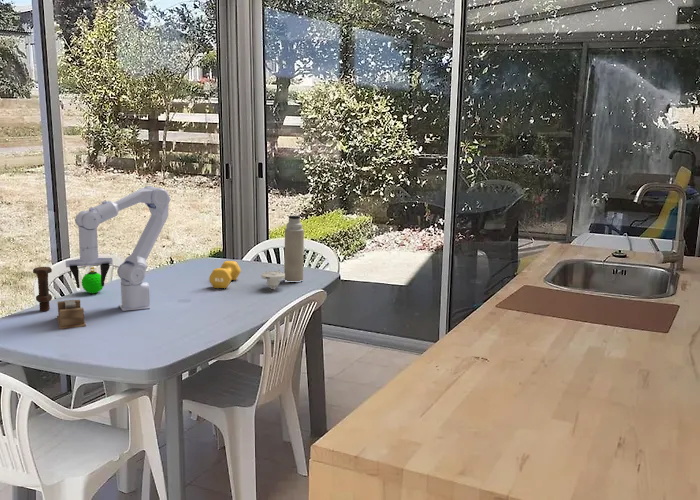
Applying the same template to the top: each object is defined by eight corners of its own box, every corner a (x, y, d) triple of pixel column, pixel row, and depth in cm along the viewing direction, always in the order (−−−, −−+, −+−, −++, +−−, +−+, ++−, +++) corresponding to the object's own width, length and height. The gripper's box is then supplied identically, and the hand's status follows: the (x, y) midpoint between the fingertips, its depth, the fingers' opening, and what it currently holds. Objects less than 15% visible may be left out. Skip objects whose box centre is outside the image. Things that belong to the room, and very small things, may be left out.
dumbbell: (229, 290, 261) (229, 270, 259) (207, 289, 261) (207, 269, 260) (242, 279, 279) (242, 260, 278) (221, 278, 280) (221, 259, 278)
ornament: (105, 290, 255) (104, 265, 253) (104, 295, 247) (103, 269, 245) (82, 291, 252) (81, 265, 251) (81, 296, 245) (79, 270, 243)
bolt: (45, 313, 222) (43, 270, 220) (32, 312, 223) (29, 269, 221) (56, 308, 228) (54, 266, 225) (43, 307, 229) (41, 265, 226)
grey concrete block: (75, 317, 217) (74, 299, 216) (76, 322, 212) (75, 304, 211) (65, 318, 216) (64, 300, 215) (66, 323, 211) (65, 305, 210)
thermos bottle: (291, 277, 284) (292, 213, 279) (306, 280, 280) (307, 215, 275) (280, 281, 278) (281, 215, 272) (295, 284, 273) (296, 217, 268)
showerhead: (289, 270, 266) (278, 275, 256) (289, 287, 267) (277, 293, 258) (269, 267, 269) (257, 272, 260) (269, 285, 270) (256, 290, 261)
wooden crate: (81, 315, 222) (80, 299, 221) (85, 326, 210) (85, 309, 209) (57, 317, 218) (56, 301, 217) (60, 329, 206) (59, 311, 205)
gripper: (66, 250, 211) (68, 291, 214) (113, 247, 218) (114, 287, 220) (64, 246, 217) (66, 286, 220) (110, 244, 224) (111, 282, 227)
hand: (90, 286), depth 221 cm, fingers open, 7 cm apart
